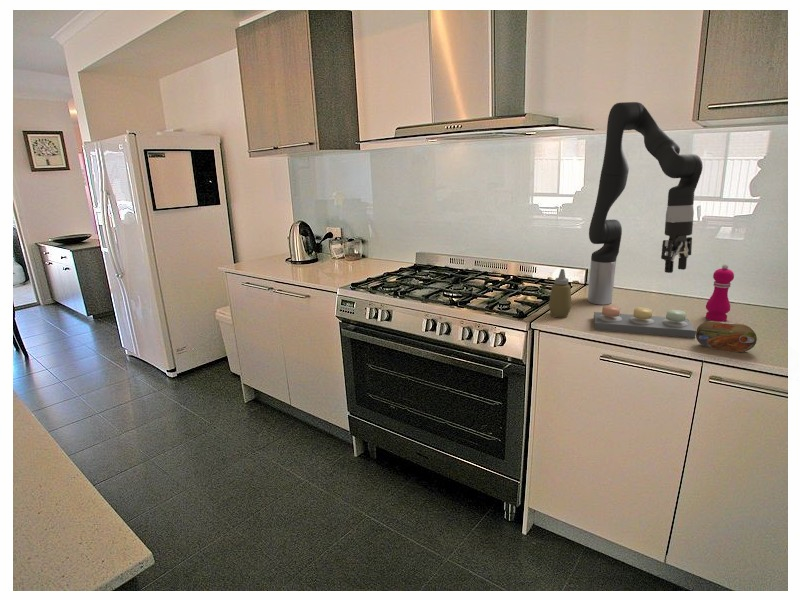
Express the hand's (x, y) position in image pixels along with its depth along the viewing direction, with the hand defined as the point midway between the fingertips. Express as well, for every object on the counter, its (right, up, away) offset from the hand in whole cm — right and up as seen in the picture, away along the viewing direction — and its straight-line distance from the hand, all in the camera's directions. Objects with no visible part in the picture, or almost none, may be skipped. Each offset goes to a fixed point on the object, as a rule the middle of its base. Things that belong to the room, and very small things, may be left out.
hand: (675, 270), depth 148 cm
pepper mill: (+24, -16, +16) cm, 34 cm away
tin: (+10, -24, -8) cm, 28 cm away
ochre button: (-6, -15, +10) cm, 19 cm away
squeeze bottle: (-29, -16, +25) cm, 41 cm away
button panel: (-6, -19, +11) cm, 22 cm away
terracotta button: (-15, -14, +13) cm, 25 cm away
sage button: (+4, -16, +6) cm, 17 cm away
